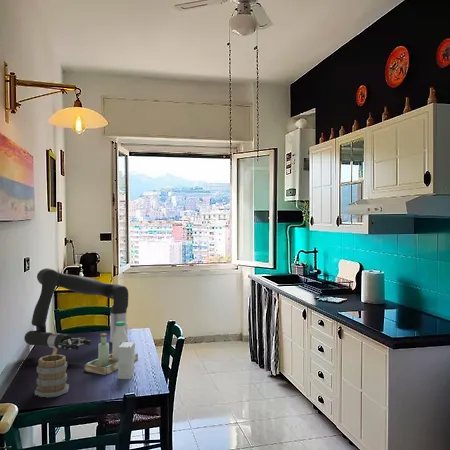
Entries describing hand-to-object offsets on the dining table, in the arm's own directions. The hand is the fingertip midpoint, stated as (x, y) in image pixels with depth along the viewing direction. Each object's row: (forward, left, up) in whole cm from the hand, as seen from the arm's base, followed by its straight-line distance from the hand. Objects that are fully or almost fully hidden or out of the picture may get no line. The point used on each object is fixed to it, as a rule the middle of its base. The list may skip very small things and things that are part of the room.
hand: (84, 345), depth 220 cm
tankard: (+29, +9, -10) cm, 32 cm away
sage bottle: (0, +12, -10) cm, 15 cm away
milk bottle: (-12, +12, -10) cm, 20 cm away
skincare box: (+4, +28, -10) cm, 30 cm away
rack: (-6, +12, -10) cm, 17 cm away
